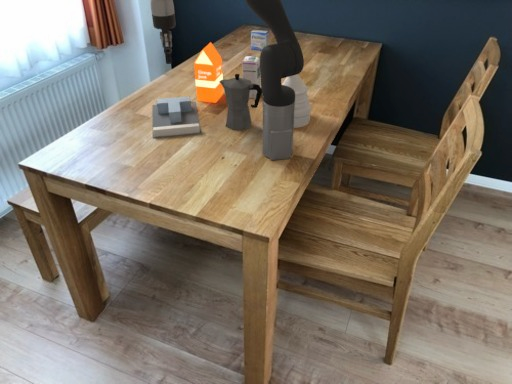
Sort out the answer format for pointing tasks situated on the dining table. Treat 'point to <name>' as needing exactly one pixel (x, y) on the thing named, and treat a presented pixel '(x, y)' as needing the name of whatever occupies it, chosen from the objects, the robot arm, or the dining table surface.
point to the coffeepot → (239, 101)
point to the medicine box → (259, 39)
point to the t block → (174, 107)
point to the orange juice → (208, 75)
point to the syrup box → (251, 72)
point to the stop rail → (176, 130)
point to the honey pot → (299, 100)
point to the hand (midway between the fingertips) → (169, 63)
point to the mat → (186, 117)
